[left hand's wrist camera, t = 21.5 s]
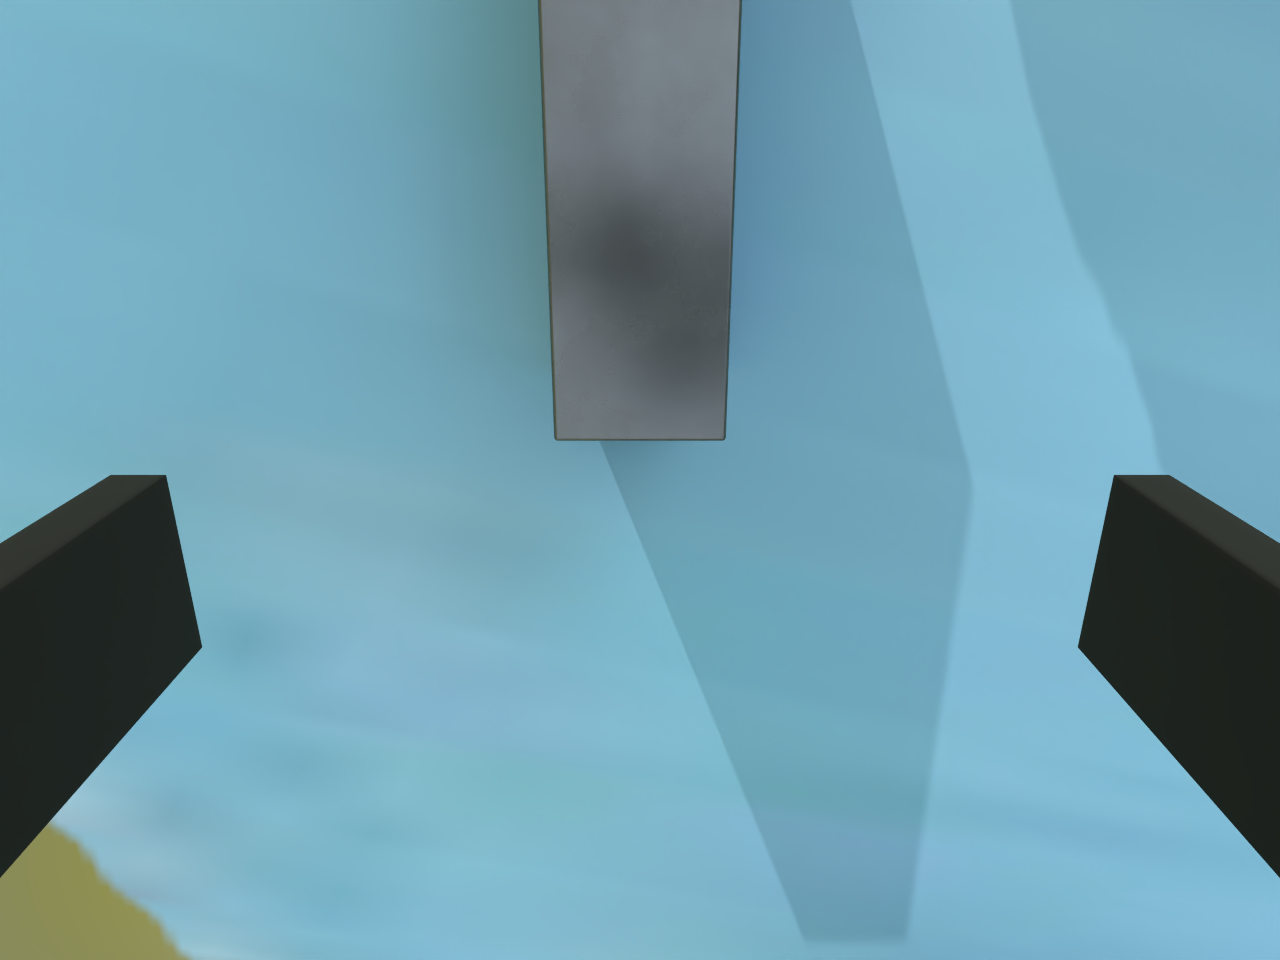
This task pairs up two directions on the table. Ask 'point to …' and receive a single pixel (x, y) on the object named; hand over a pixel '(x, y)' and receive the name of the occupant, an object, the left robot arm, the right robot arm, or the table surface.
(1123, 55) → the table surface
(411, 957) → the table surface
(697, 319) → the bar
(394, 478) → the table surface
